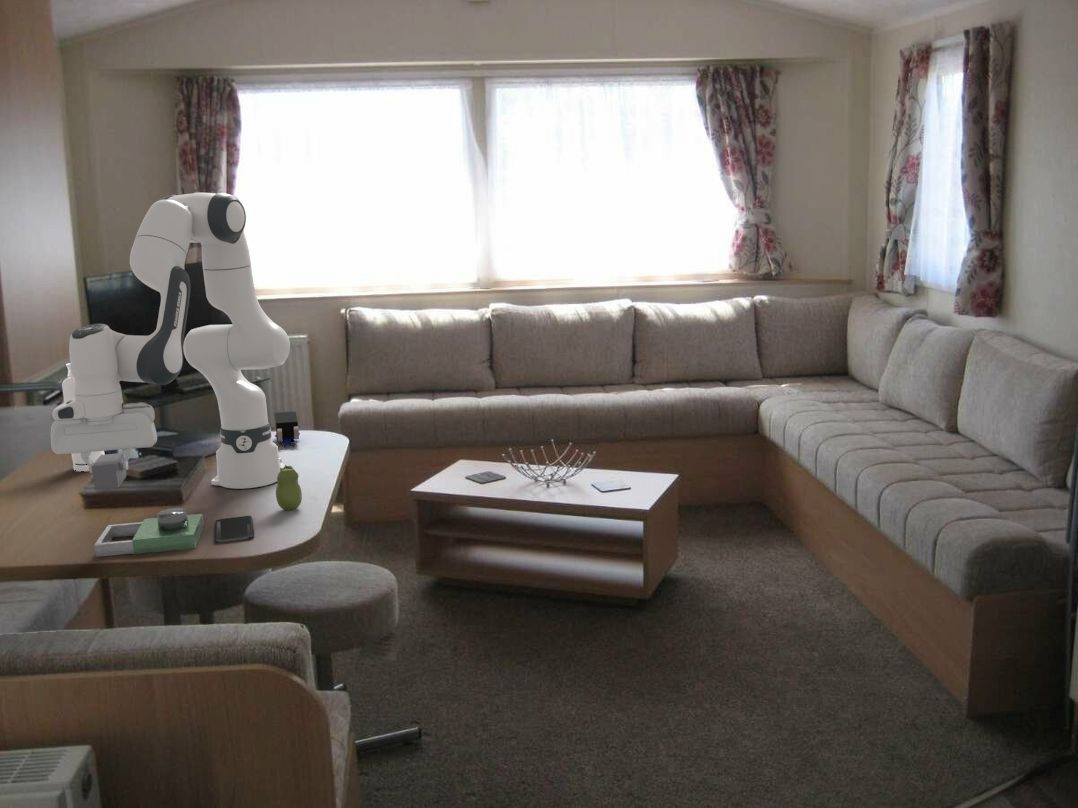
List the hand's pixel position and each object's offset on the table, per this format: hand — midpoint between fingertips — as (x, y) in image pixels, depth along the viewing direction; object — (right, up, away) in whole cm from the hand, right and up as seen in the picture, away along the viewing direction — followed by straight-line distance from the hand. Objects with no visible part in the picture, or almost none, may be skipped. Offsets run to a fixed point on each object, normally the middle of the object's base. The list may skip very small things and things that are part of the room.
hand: (109, 470), depth 230 cm
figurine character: (+18, +3, +85) cm, 86 cm away
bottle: (-31, -3, +66) cm, 73 cm away
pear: (+33, -10, +21) cm, 40 cm away
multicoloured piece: (+7, -15, +4) cm, 17 cm away
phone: (+24, -14, +8) cm, 29 cm away
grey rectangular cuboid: (0, -3, +1) cm, 3 cm away
